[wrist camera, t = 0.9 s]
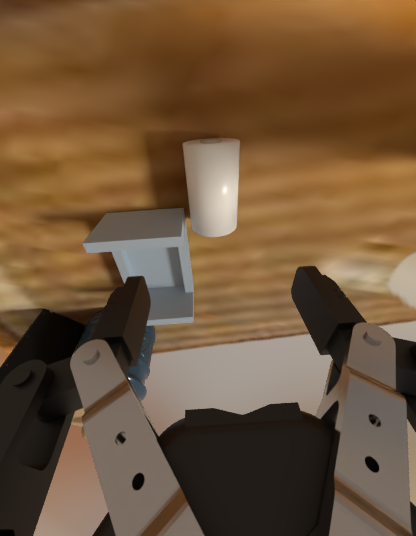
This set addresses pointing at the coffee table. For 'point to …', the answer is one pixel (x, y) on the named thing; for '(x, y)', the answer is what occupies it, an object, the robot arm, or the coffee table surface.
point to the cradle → (151, 258)
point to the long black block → (45, 342)
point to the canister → (135, 373)
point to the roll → (212, 184)
